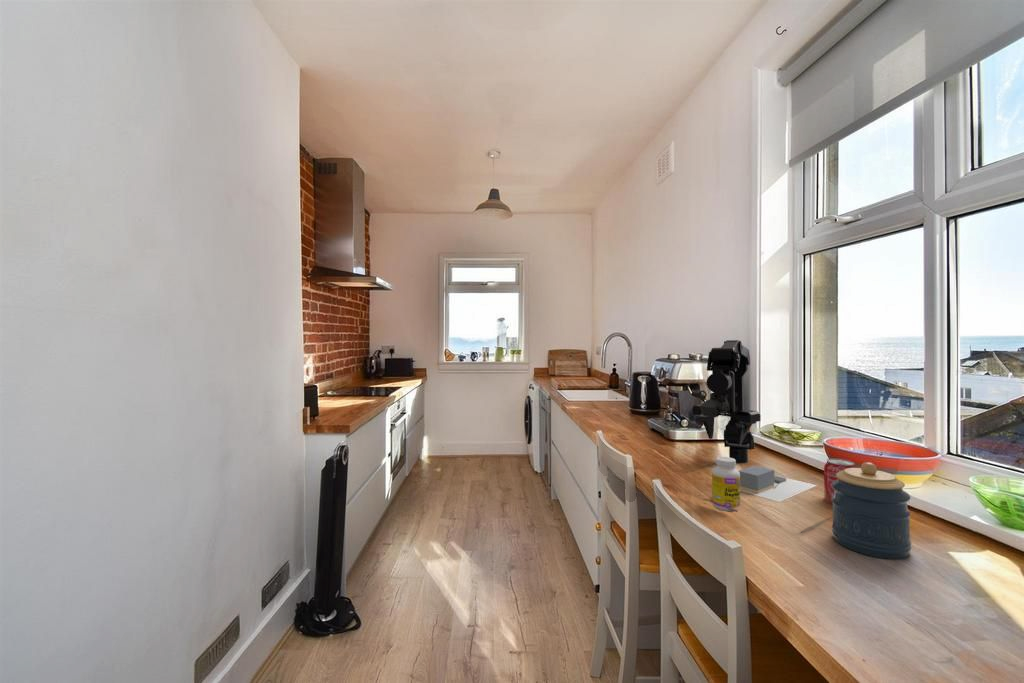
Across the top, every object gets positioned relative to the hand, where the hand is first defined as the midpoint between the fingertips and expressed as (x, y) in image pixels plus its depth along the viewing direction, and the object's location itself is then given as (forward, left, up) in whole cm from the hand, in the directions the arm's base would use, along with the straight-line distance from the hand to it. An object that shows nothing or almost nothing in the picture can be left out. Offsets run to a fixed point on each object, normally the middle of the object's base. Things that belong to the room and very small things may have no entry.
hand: (724, 441), depth 129 cm
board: (-7, +8, -14) cm, 17 cm away
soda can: (-9, +26, -14) cm, 31 cm away
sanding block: (-2, +8, -12) cm, 15 cm away
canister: (+10, +38, -14) cm, 41 cm away
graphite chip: (-13, +8, -12) cm, 20 cm away
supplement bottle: (+15, +9, -14) cm, 22 cm away
